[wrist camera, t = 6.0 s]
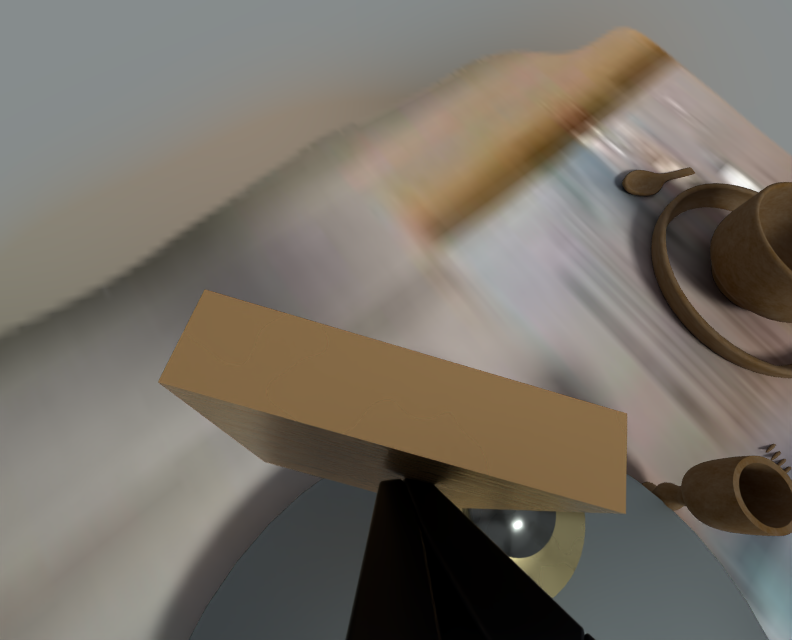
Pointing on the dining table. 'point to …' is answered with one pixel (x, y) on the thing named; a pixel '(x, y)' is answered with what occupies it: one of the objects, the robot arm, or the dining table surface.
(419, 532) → the robot arm
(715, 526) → the place setting
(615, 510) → the wooden slab
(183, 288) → the dining table surface
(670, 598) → the plate
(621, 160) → the dining table surface
